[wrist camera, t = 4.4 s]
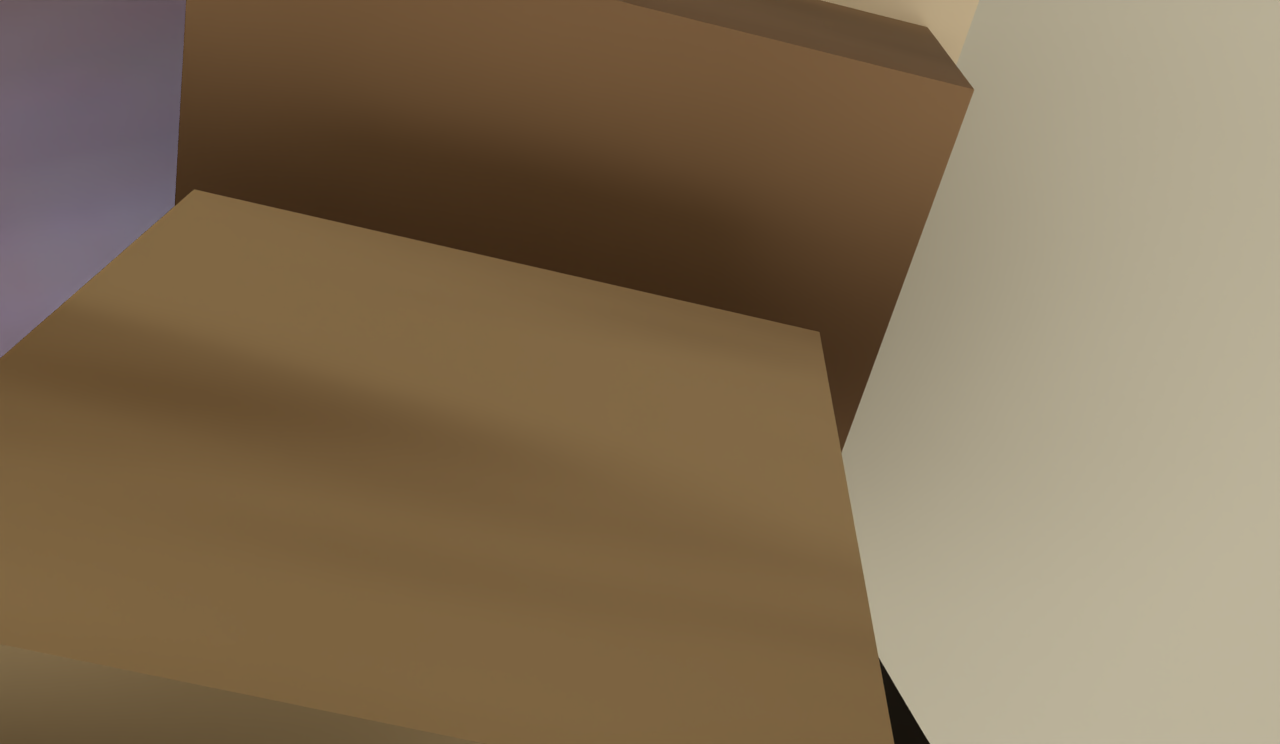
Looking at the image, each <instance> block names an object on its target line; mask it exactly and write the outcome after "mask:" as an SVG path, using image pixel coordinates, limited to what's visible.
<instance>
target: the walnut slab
mask: <svg viewBox="0 0 1280 744" xmlns="http://www.w3.org/2000/svg"><path fill="white" fill-rule="evenodd" d="M973 92H974V88H973V87H972V86H971V84H970V83H969V82H968V80H967V79H966V78H965V76H964V75H963V74H962V72H961V71H960V70H959V68H958V67H957V66H956V64H955V63H954V62H953V60H952V59H951V58H950V56H949V55H948V54H947V52H946V51H945V50H944V48H943V47H942V46H941V44H940V43H939V42H938V40H937V39H936V38H935V36H934V35H933V34H932V32H931V31H930V30H929V28H928V27H925V26H921V25H917V24H913V23H909V22H905V21H901V20H897V19H893V18H889V17H885V16H881V15H877V14H873V13H869V12H865V11H861V10H857V9H854V8H850V7H846V6H842V5H838V4H834V3H830V2H826V1H822V0H186V14H185V32H184V50H183V68H182V86H181V104H180V122H179V140H178V158H177V176H176V194H175V206H176V205H177V204H178V203H179V202H180V201H181V200H182V199H184V198H185V197H186V196H187V195H188V194H189V193H190V192H192V191H193V190H194V189H195V190H199V191H204V192H208V193H212V194H217V195H221V196H226V197H230V198H234V199H239V200H243V201H247V202H252V203H256V204H261V205H265V206H269V207H274V208H278V209H283V210H287V211H291V212H296V213H300V214H304V215H309V216H313V217H318V218H322V219H326V220H331V221H335V222H340V223H344V224H348V225H353V226H357V227H361V228H366V229H370V230H375V231H379V232H383V233H388V234H392V235H397V236H401V237H405V238H410V239H414V240H418V241H423V242H427V243H432V244H436V245H440V246H445V247H449V248H453V249H458V250H462V251H467V252H471V253H475V254H480V255H484V256H489V257H493V258H497V259H502V260H506V261H510V262H515V263H519V264H524V265H528V266H532V267H537V268H541V269H546V270H550V271H554V272H559V273H563V274H567V275H572V276H576V277H581V278H585V279H589V280H594V281H598V282H603V283H607V284H611V285H616V286H620V287H624V288H629V289H633V290H638V291H642V292H646V293H651V294H655V295H659V296H664V297H668V298H673V299H677V300H681V301H686V302H690V303H695V304H699V305H703V306H708V307H712V308H716V309H721V310H725V311H730V312H734V313H738V314H743V315H747V316H752V317H756V318H760V319H765V320H769V321H773V322H778V323H782V324H787V325H791V326H795V327H800V328H804V329H809V330H813V331H817V332H820V338H821V343H822V349H823V354H824V360H825V365H826V371H827V376H828V382H829V387H830V393H831V398H832V404H833V409H834V415H835V420H836V426H837V431H838V437H839V442H840V448H841V453H842V450H843V447H844V445H845V442H846V439H847V436H848V434H849V431H850V428H851V425H852V423H853V420H854V417H855V414H856V412H857V409H858V406H859V404H860V401H861V398H862V395H863V393H864V390H865V387H866V384H867V382H868V379H869V376H870V374H871V371H872V368H873V365H874V363H875V360H876V357H877V354H878V352H879V349H880V346H881V343H882V341H883V338H884V335H885V333H886V330H887V327H888V324H889V322H890V319H891V316H892V313H893V311H894V308H895V305H896V302H897V300H898V297H899V294H900V292H901V289H902V286H903V283H904V281H905V278H906V275H907V272H908V270H909V267H910V264H911V261H912V259H913V256H914V253H915V251H916V248H917V245H918V242H919V240H920V237H921V234H922V231H923V229H924V226H925V223H926V221H927V218H928V215H929V212H930V210H931V207H932V204H933V201H934V199H935V196H936V193H937V190H938V188H939V185H940V182H941V180H942V177H943V174H944V171H945V169H946V166H947V163H948V160H949V158H950V155H951V152H952V149H953V147H954V144H955V141H956V139H957V136H958V133H959V130H960V128H961V125H962V122H963V119H964V117H965V114H966V111H967V108H968V106H969V103H970V100H971V98H972V95H973Z"/></svg>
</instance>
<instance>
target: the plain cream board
mask: <svg viewBox="0 0 1280 744" xmlns="http://www.w3.org/2000/svg"><path fill="white" fill-rule="evenodd" d="M822 1H826V2H830V3H834V4H838V5H842V6H846V7H850V8H854V9H857V10H861V11H865V12H869V13H873V14H877V15H881V16H885V17H889V18H893V19H897V20H901V21H905V22H909V23H913V24H917V25H921V26H925V27H928V28H929V30H930V31H931V32H932V34H933V35H934V36H935V38H936V39H937V40H938V42H939V43H940V44H941V46H942V47H943V48H944V50H945V51H946V52H947V54H948V55H949V56H950V58H951V59H952V60H953V62H954V63H955V64H956V66H957V67H958V68H959V70H960V71H961V72H962V74H963V75H964V76H965V78H966V79H967V80H968V82H969V83H970V84H971V86H972V87H973V88H974V92H973V95H972V98H971V100H970V103H969V106H968V108H967V111H966V114H965V117H964V119H963V122H962V125H961V128H960V130H959V133H958V136H957V139H956V141H955V144H954V147H953V149H952V152H951V155H950V158H949V160H948V163H947V166H946V169H945V171H944V174H943V177H942V180H941V182H940V185H939V188H938V190H937V193H936V196H935V199H934V201H933V204H932V207H931V210H930V212H929V215H928V218H927V221H926V223H925V226H924V229H923V231H922V234H921V237H920V240H919V242H918V245H917V248H916V251H915V253H914V256H913V259H912V261H911V264H910V267H909V270H908V272H907V275H906V278H905V281H904V283H903V286H902V289H901V292H900V294H899V297H898V300H897V302H896V305H895V308H894V311H893V313H892V316H891V319H890V322H889V324H888V327H887V330H886V333H885V335H884V338H883V341H882V343H881V346H880V349H879V352H878V354H877V357H876V360H875V363H874V365H873V368H872V371H871V374H870V376H869V379H868V382H867V384H866V387H865V390H864V393H863V395H862V398H861V401H860V404H859V406H858V409H857V412H856V414H855V417H854V420H853V423H852V425H851V428H850V431H849V434H848V436H847V439H846V442H845V445H844V447H843V450H842V459H843V464H844V470H845V475H846V481H847V486H848V492H849V497H850V503H851V508H852V514H853V519H854V525H855V530H856V536H857V541H858V547H859V552H860V558H861V563H862V569H863V574H864V580H865V585H866V591H867V596H868V602H869V607H870V613H871V618H872V624H873V629H874V635H875V640H876V646H877V651H878V657H879V658H880V660H881V662H882V664H883V665H884V667H885V669H886V670H887V672H888V674H889V676H890V677H891V679H892V681H893V682H894V684H895V686H896V688H897V689H898V691H899V693H900V694H901V696H902V698H903V699H904V701H905V703H906V704H907V706H908V708H909V710H910V711H911V713H912V715H913V716H914V718H915V720H916V721H917V723H918V725H919V726H920V728H921V730H922V731H923V733H924V735H925V736H926V738H927V740H928V741H929V743H930V744H1280V0H822Z"/></svg>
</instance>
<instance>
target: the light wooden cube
mask: <svg viewBox="0 0 1280 744" xmlns="http://www.w3.org/2000/svg"><path fill="white" fill-rule="evenodd" d="M0 744H894V739H893V734H892V728H891V723H890V717H889V712H888V706H887V701H886V695H885V690H884V684H883V679H882V673H881V668H880V662H879V657H878V651H877V646H876V640H875V635H874V629H873V624H872V618H871V613H870V607H869V602H868V596H867V591H866V585H865V580H864V574H863V569H862V563H861V558H860V552H859V547H858V541H857V536H856V530H855V525H854V519H853V514H852V508H851V503H850V497H849V492H848V486H847V481H846V475H845V470H844V464H843V459H842V453H841V448H840V442H839V437H838V431H837V426H836V420H835V415H834V409H833V404H832V398H831V393H830V387H829V382H828V376H827V371H826V365H825V360H824V354H823V349H822V343H821V338H820V332H817V331H813V330H809V329H804V328H800V327H795V326H791V325H787V324H782V323H778V322H773V321H769V320H765V319H760V318H756V317H752V316H747V315H743V314H738V313H734V312H730V311H725V310H721V309H716V308H712V307H708V306H703V305H699V304H695V303H690V302H686V301H681V300H677V299H673V298H668V297H664V296H659V295H655V294H651V293H646V292H642V291H638V290H633V289H629V288H624V287H620V286H616V285H611V284H607V283H603V282H598V281H594V280H589V279H585V278H581V277H576V276H572V275H567V274H563V273H559V272H554V271H550V270H546V269H541V268H537V267H532V266H528V265H524V264H519V263H515V262H510V261H506V260H502V259H497V258H493V257H489V256H484V255H480V254H475V253H471V252H467V251H462V250H458V249H453V248H449V247H445V246H440V245H436V244H432V243H427V242H423V241H418V240H414V239H410V238H405V237H401V236H397V235H392V234H388V233H383V232H379V231H375V230H370V229H366V228H361V227H357V226H353V225H348V224H344V223H340V222H335V221H331V220H326V219H322V218H318V217H313V216H309V215H304V214H300V213H296V212H291V211H287V210H283V209H278V208H274V207H269V206H265V205H261V204H256V203H252V202H247V201H243V200H239V199H234V198H230V197H226V196H221V195H217V194H212V193H208V192H204V191H199V190H195V189H194V190H193V191H192V192H190V193H189V194H188V195H187V196H186V197H185V198H184V199H182V200H181V201H180V202H179V203H178V204H177V205H176V206H174V207H173V208H172V209H171V210H170V211H169V212H168V213H166V214H165V215H164V216H163V217H162V218H161V219H160V220H158V221H157V222H156V223H155V224H154V225H153V226H152V227H150V228H149V229H148V230H147V231H146V232H145V233H143V234H142V235H141V236H140V237H139V238H138V239H137V240H135V241H134V242H133V243H132V244H131V245H130V246H129V247H127V248H126V249H125V250H124V251H123V252H122V253H121V254H119V255H118V256H117V257H116V258H115V259H114V260H113V261H111V262H110V263H109V264H108V265H107V266H106V267H105V268H103V269H102V270H101V271H100V272H99V273H98V274H96V275H95V276H94V277H93V278H92V279H91V280H90V281H88V282H87V283H86V284H85V285H84V286H83V287H82V288H80V289H79V290H78V291H77V292H76V293H75V294H74V295H72V296H71V297H70V298H69V299H68V300H67V301H66V302H64V303H63V304H62V305H61V306H60V307H59V308H58V309H56V310H55V311H54V312H53V313H52V314H51V315H49V316H48V317H47V318H46V319H45V320H44V321H43V322H41V323H40V324H39V325H38V326H37V327H36V328H35V329H33V330H32V331H31V332H30V333H29V334H28V335H27V336H25V337H24V338H23V339H22V340H21V341H20V342H19V343H17V344H16V345H15V346H14V347H13V348H12V349H11V350H9V351H8V352H7V353H6V354H5V355H4V356H2V357H1V358H0Z"/></svg>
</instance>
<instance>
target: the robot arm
mask: <svg viewBox="0 0 1280 744" xmlns="http://www.w3.org/2000/svg"><path fill="white" fill-rule="evenodd" d="M879 662H880V668H881V673H882V679H883V684H884V690H885V695H886V701H887V706H888V712H889V717H890V723H891V728H892V734H893V739H894V744H930V743H929V741H928V740H927V738H926V736H925V735H924V733H923V731H922V730H921V728H920V726H919V725H918V723H917V721H916V720H915V718H914V716H913V715H912V713H911V711H910V710H909V708H908V706H907V704H906V703H905V701H904V699H903V698H902V696H901V694H900V693H899V691H898V689H897V688H896V686H895V684H894V682H893V681H892V679H891V677H890V676H889V674H888V672H887V670H886V669H885V667H884V665H883V664H882V662H881V660H880V658H879Z"/></svg>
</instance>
